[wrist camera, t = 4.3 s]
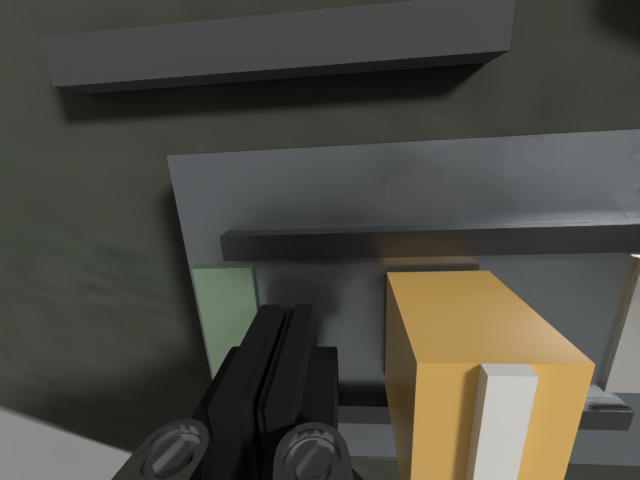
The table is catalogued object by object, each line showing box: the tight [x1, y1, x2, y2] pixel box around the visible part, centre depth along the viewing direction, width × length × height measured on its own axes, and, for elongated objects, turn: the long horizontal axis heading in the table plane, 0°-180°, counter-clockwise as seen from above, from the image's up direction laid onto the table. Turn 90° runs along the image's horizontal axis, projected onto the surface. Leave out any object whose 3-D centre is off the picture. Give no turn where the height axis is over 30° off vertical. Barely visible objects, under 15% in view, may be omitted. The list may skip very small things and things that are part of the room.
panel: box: [167, 129, 640, 466], centre depth 11 cm, size 16×12×3 cm
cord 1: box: [38, 0, 516, 94], centre depth 9 cm, size 14×1×1 cm, turn 93°
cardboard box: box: [385, 271, 595, 480], centre depth 8 cm, size 3×4×4 cm
